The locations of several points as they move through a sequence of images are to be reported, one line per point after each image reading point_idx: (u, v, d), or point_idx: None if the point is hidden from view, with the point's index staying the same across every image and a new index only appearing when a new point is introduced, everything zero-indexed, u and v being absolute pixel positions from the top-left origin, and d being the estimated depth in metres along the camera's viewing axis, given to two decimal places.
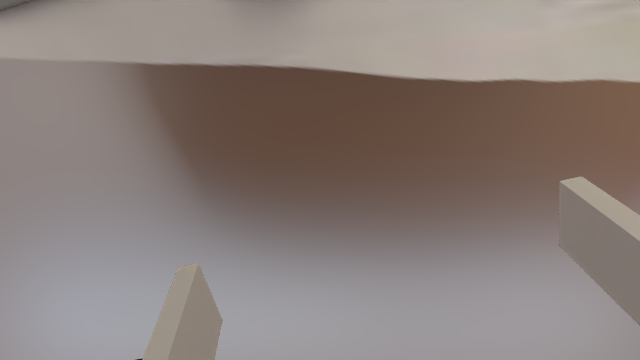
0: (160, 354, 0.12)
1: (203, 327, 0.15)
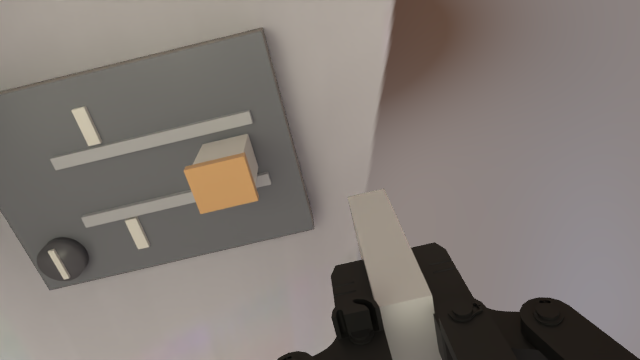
0: (378, 252, 0.14)
1: None
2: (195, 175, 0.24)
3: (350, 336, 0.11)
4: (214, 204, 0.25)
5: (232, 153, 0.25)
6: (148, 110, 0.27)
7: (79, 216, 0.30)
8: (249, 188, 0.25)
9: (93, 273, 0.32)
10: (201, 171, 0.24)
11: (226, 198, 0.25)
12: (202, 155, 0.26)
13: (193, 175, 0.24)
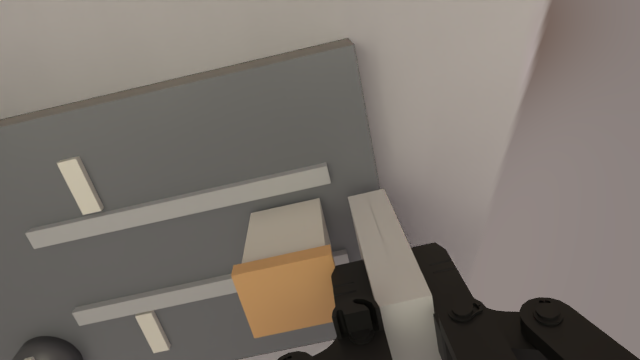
0: (378, 252, 0.14)
1: None
2: (250, 283, 0.15)
3: (350, 336, 0.11)
4: (277, 324, 0.15)
5: (305, 240, 0.16)
6: (174, 163, 0.18)
7: (69, 308, 0.21)
8: None
9: None
10: (260, 277, 0.15)
11: (296, 316, 0.15)
12: (255, 238, 0.17)
13: (246, 283, 0.15)
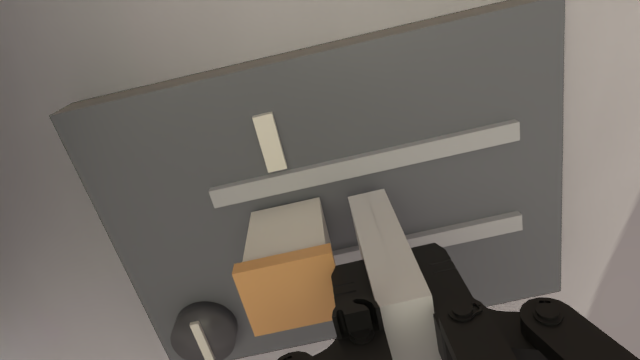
0: (378, 252, 0.14)
1: None
2: (250, 281, 0.15)
3: (350, 336, 0.11)
4: (278, 322, 0.16)
5: (306, 239, 0.16)
6: (364, 119, 0.18)
7: None
8: None
9: (240, 349, 0.22)
10: (261, 276, 0.15)
11: (297, 314, 0.15)
12: (256, 237, 0.17)
13: (247, 281, 0.15)
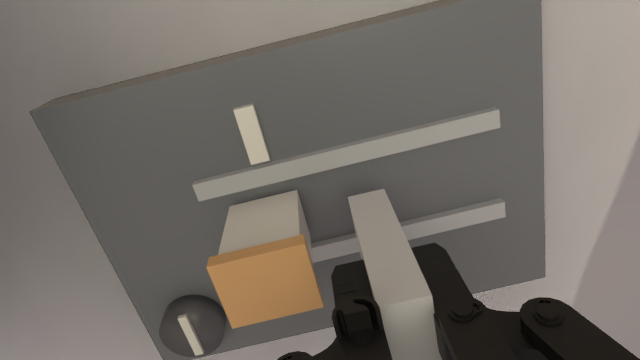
0: (378, 252, 0.14)
1: None
2: (225, 274, 0.15)
3: (350, 336, 0.11)
4: (255, 314, 0.16)
5: (281, 231, 0.16)
6: (345, 109, 0.18)
7: None
8: (311, 289, 0.15)
9: (229, 342, 0.23)
10: (235, 268, 0.15)
11: (273, 305, 0.16)
12: (232, 230, 0.17)
13: (222, 274, 0.15)
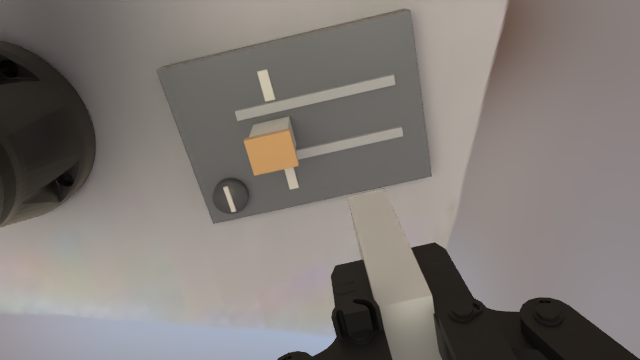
0: (378, 252, 0.14)
1: None
2: (252, 145, 0.32)
3: (350, 336, 0.11)
4: (265, 168, 0.33)
5: (279, 129, 0.33)
6: (314, 73, 0.35)
7: (247, 160, 0.37)
8: (292, 155, 0.32)
9: (250, 210, 0.39)
10: (257, 142, 0.32)
11: (274, 163, 0.32)
12: (255, 131, 0.34)
13: (250, 144, 0.32)
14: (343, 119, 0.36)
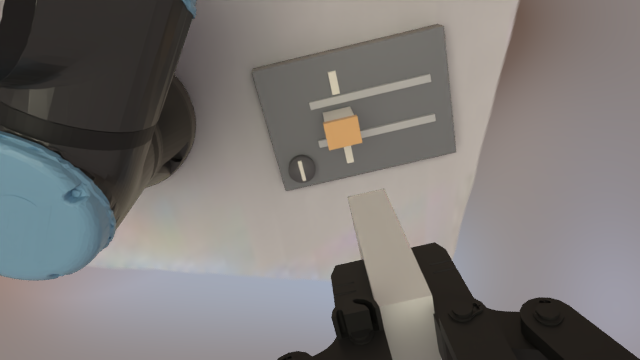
0: (378, 252, 0.14)
1: None
2: (329, 127, 0.43)
3: (350, 336, 0.11)
4: (337, 144, 0.44)
5: (347, 115, 0.44)
6: (370, 73, 0.46)
7: (315, 140, 0.49)
8: (358, 135, 0.43)
9: (315, 180, 0.51)
10: (333, 125, 0.43)
11: (344, 141, 0.44)
12: (327, 117, 0.45)
13: (328, 127, 0.43)
14: (390, 108, 0.48)
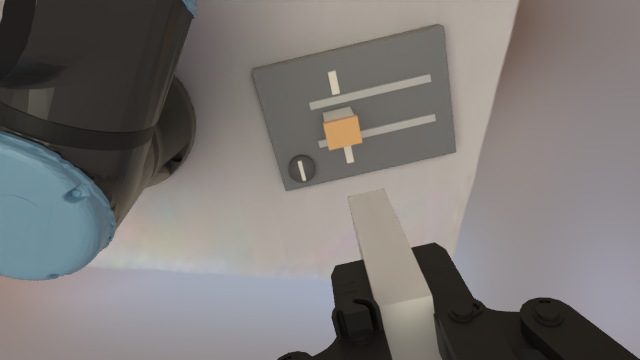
0: (378, 252, 0.14)
1: None
2: (329, 127, 0.43)
3: (350, 336, 0.11)
4: (337, 144, 0.44)
5: (347, 115, 0.44)
6: (370, 73, 0.46)
7: (315, 140, 0.49)
8: (358, 134, 0.43)
9: (315, 180, 0.51)
10: (333, 125, 0.43)
11: (344, 141, 0.44)
12: (327, 117, 0.45)
13: (328, 127, 0.43)
14: (390, 108, 0.48)
